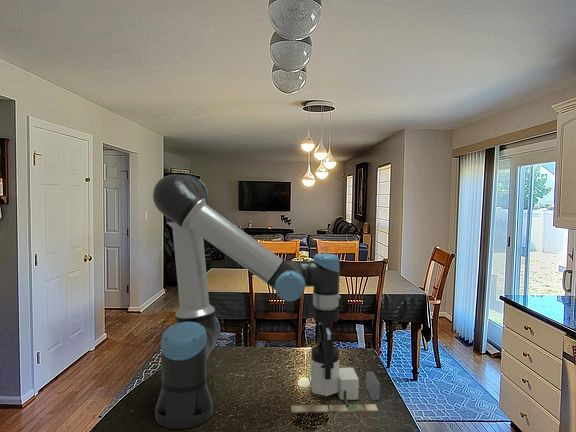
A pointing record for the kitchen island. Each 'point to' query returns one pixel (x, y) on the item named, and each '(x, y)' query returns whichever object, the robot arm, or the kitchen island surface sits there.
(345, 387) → the carriage
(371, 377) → the two-tone gray brick
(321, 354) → the jar
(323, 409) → the strip
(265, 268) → the robot arm
